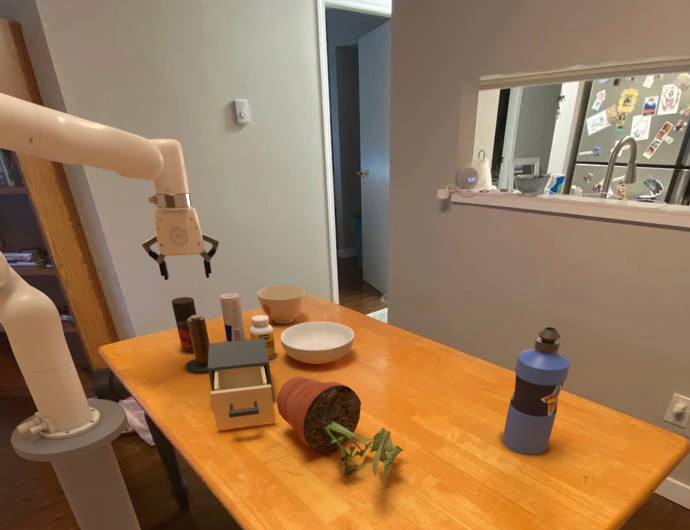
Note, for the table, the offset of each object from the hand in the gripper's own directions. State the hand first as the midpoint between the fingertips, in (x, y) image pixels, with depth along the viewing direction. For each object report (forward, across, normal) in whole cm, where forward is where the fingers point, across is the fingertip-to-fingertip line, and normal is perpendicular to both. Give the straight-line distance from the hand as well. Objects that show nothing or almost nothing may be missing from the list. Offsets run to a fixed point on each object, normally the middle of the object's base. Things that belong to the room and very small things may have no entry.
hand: (187, 277), depth 114 cm
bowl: (+24, +26, +32) cm, 48 cm away
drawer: (+24, +10, -29) cm, 39 cm away
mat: (+25, 0, +2) cm, 25 cm away
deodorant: (+25, -3, +14) cm, 29 cm away
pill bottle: (+25, +17, +4) cm, 30 cm away
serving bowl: (+25, +32, -1) cm, 40 cm away
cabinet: (+25, +10, -16) cm, 31 cm away
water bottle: (+24, +66, -54) cm, 89 cm away
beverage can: (+25, +10, +16) cm, 31 cm away
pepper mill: (+24, 0, +2) cm, 24 cm away
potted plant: (+25, +28, -50) cm, 63 cm away
